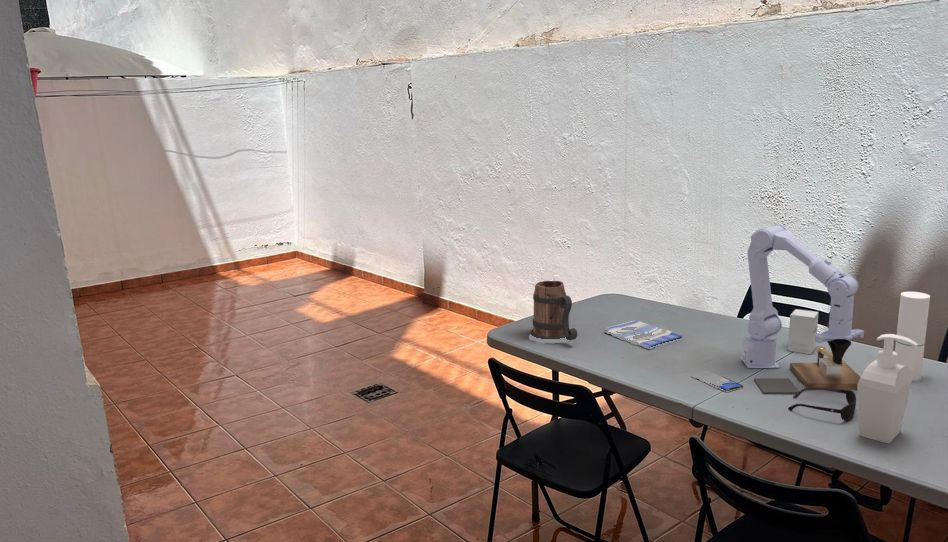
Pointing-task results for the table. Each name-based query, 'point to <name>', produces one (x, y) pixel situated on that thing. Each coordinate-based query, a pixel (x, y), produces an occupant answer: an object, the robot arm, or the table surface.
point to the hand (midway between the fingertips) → (837, 363)
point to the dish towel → (657, 338)
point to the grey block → (829, 368)
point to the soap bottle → (884, 393)
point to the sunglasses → (845, 412)
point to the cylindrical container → (912, 331)
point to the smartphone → (728, 385)
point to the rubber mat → (776, 385)
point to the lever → (829, 355)
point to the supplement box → (803, 331)
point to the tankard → (552, 312)
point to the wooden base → (815, 379)
